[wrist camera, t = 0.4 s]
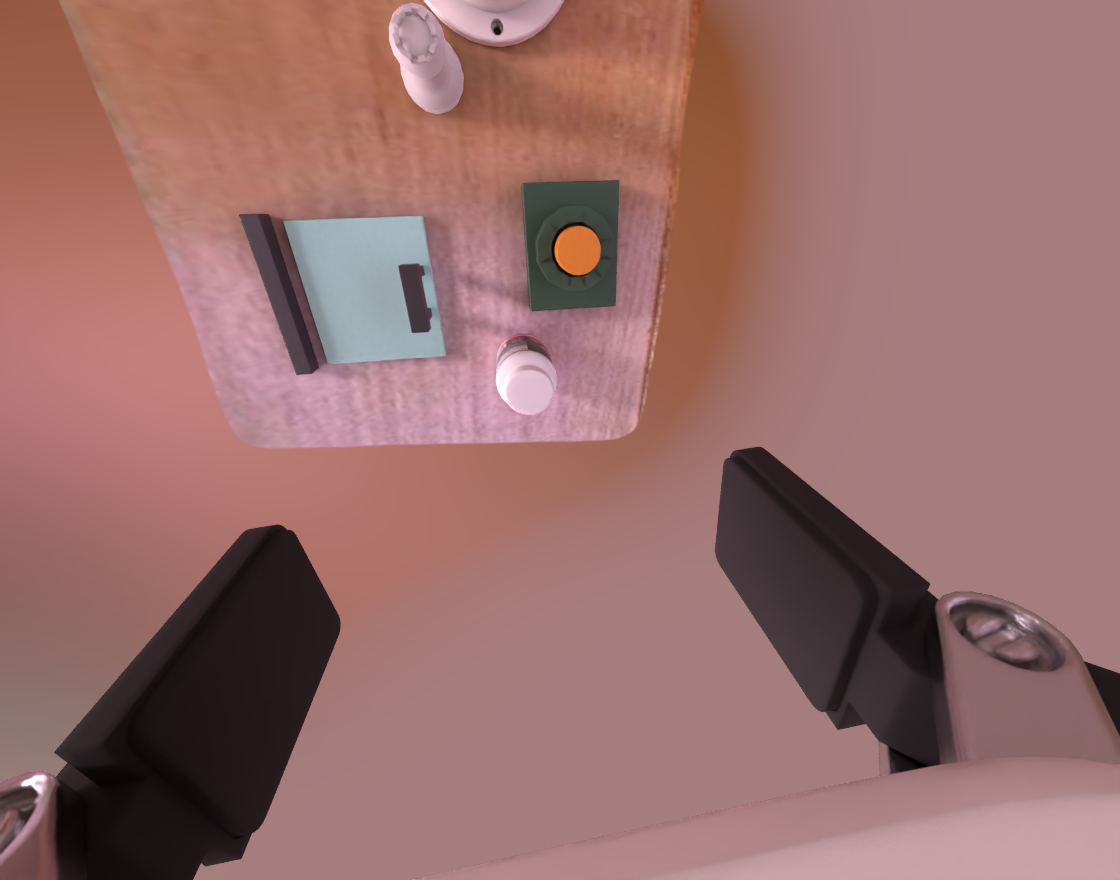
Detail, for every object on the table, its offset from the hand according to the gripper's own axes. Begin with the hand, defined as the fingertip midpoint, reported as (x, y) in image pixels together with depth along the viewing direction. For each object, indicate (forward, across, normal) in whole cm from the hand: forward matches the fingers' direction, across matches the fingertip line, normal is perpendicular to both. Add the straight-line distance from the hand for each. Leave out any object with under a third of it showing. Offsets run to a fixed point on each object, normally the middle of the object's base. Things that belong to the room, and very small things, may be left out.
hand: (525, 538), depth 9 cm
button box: (+34, -6, -4) cm, 34 cm away
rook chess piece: (+34, +3, -17) cm, 38 cm away
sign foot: (+34, +19, -3) cm, 39 cm away
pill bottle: (+34, -1, +6) cm, 34 cm away
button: (+30, -7, -4) cm, 31 cm away
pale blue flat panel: (+34, +12, -2) cm, 36 cm away
